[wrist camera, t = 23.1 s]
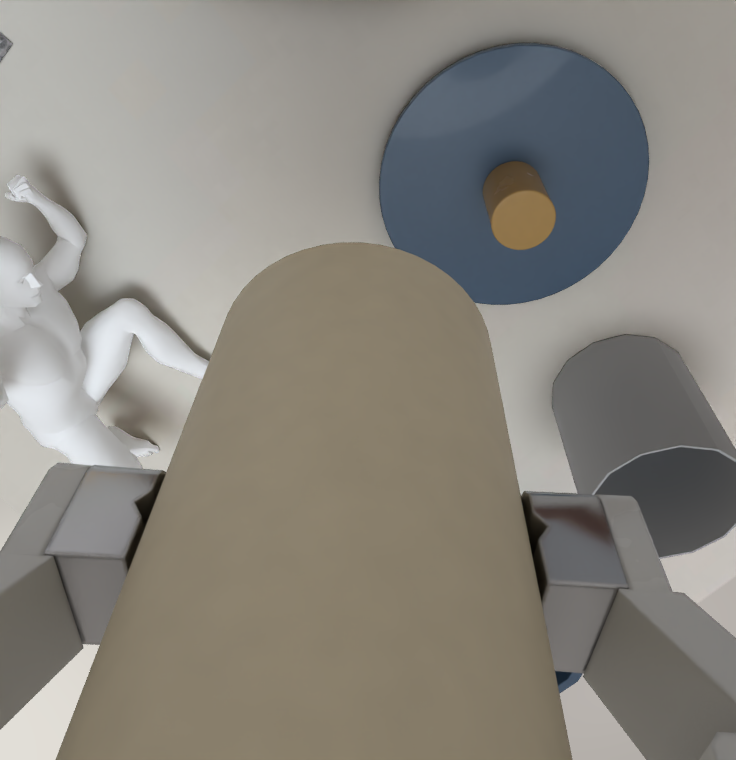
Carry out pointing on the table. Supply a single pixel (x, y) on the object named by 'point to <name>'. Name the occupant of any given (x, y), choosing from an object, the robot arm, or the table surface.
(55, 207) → the person figurine
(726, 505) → the cup
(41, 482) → the robot arm
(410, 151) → the tin lid
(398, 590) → the candle
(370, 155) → the table surface
